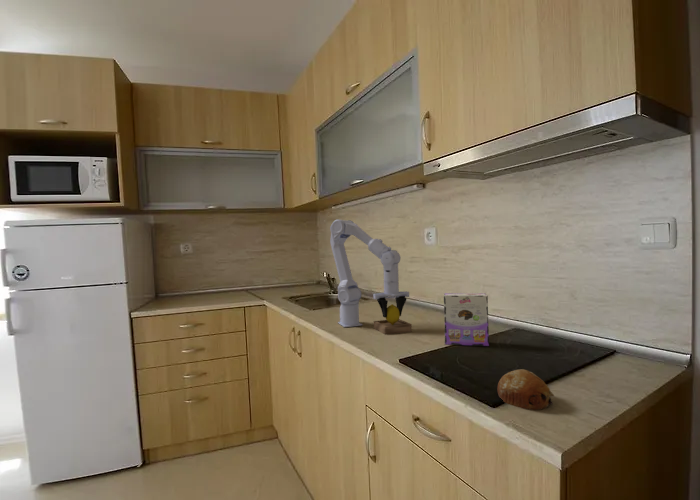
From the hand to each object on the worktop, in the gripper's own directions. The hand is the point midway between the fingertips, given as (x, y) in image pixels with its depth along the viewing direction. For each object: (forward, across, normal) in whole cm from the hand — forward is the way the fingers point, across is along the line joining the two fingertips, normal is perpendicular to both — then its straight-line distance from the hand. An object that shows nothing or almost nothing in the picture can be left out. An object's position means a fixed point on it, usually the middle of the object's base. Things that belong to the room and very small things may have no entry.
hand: (391, 316), depth 140 cm
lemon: (+3, 0, 0) cm, 3 cm away
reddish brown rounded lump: (+6, -2, -68) cm, 68 cm away
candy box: (+6, +14, -27) cm, 31 cm away
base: (+5, 0, 0) cm, 5 cm away
